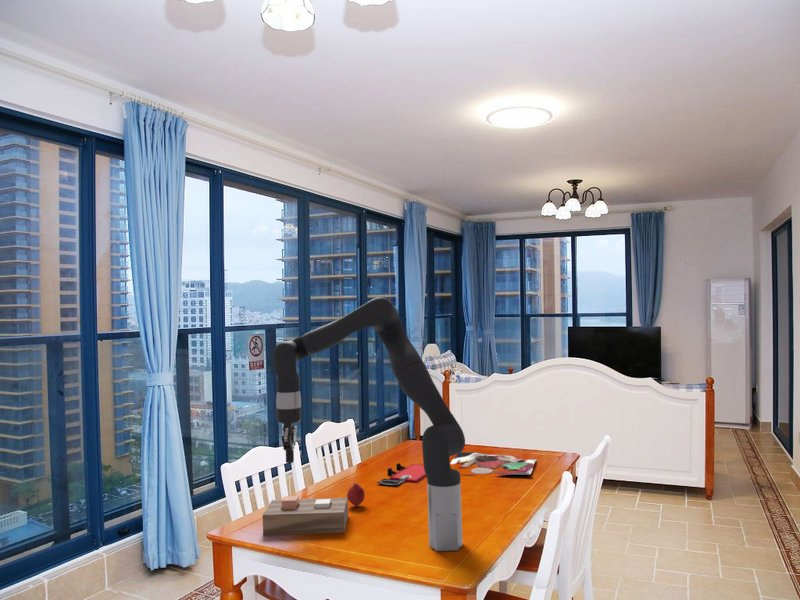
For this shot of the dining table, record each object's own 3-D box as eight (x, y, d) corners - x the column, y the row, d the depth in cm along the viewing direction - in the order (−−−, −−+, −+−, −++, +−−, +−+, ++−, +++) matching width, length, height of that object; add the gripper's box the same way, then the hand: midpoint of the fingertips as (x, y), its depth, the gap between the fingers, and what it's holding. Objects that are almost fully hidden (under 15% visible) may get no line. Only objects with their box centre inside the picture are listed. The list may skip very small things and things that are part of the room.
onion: (356, 502, 208) (355, 479, 208) (368, 505, 205) (367, 481, 205) (344, 507, 204) (343, 483, 204) (356, 510, 200) (355, 485, 200)
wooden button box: (344, 532, 180) (343, 512, 180) (263, 535, 180) (262, 514, 180) (348, 516, 194) (347, 497, 194) (272, 519, 194) (272, 500, 194)
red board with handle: (371, 484, 229) (408, 489, 223) (371, 477, 229) (408, 481, 223) (404, 466, 257) (437, 470, 250) (404, 459, 257) (437, 463, 251)
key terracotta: (296, 513, 185) (296, 500, 185) (282, 514, 185) (281, 500, 185) (298, 508, 189) (298, 495, 189) (284, 509, 189) (284, 496, 189)
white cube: (329, 516, 185) (329, 503, 185) (315, 517, 185) (314, 503, 185) (331, 511, 189) (330, 498, 190) (316, 512, 189) (316, 499, 190)
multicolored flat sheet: (538, 458, 264) (537, 453, 264) (529, 480, 231) (529, 475, 231) (459, 454, 275) (459, 450, 275) (440, 475, 241) (440, 470, 241)
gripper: (297, 409, 182) (298, 467, 181) (304, 402, 195) (305, 456, 195) (272, 409, 182) (273, 468, 181) (280, 402, 195) (281, 457, 195)
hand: (289, 462), depth 188 cm, fingers closed
